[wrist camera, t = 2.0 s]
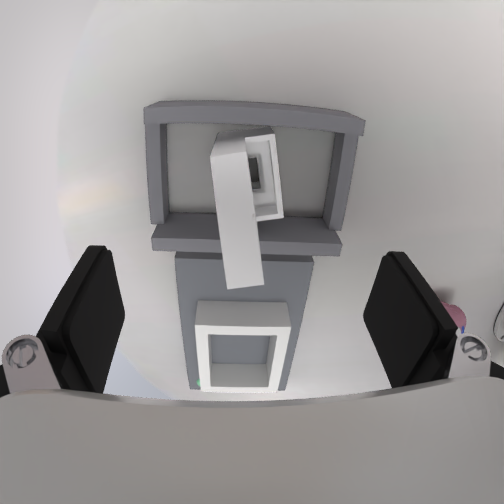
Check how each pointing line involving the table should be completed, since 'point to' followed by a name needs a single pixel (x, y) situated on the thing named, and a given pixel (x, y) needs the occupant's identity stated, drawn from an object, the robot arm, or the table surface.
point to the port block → (240, 322)
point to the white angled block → (244, 199)
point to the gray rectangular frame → (270, 231)
